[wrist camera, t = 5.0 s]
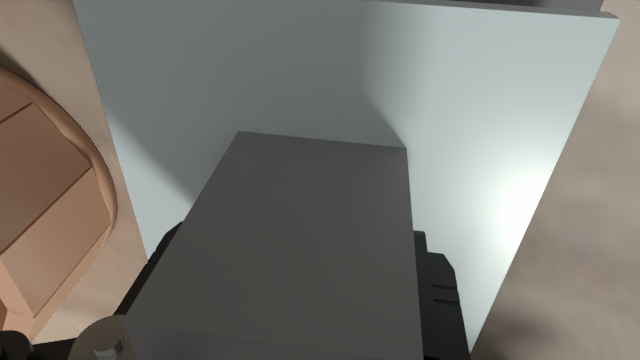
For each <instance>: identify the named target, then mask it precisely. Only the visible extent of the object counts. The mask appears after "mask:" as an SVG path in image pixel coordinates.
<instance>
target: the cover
mask: <svg viewBox="0 0 640 360" xmlns="http://www.w3.org/2000/svg"><path fill="white" fill-rule="evenodd" d="M72 2H73V5H74V9H75V12H76V15H77V19H78V22H79V26H80V29H81V33H82V36H83V39H84V43H85V46H86V50H87V53H88V56H89V60H90V63H91V67H92V70H93V73H94V77H95V80H96V84H97V87H98V90H99V94H100V97H101V101H102V104H103V108H104V111H105V114H106V118H107V121H108V125H109V128H110V131H111V135H112V138H113V142H114V145H115V148H116V152H117V155H118V159H119V162H120V165H121V169H122V172H123V176H124V179H125V182H126V186H127V189H128V193H129V196H130V200H131V203H132V206H133V210H134V213H135V217H136V220H137V223H138V227H139V230H140V234H141V237H142V240H143V244H144V247H145V251H146V254H147V257H148V260H149V258H150V257H151V255H152V253H153V252H154V251H156V247H157V246H158V244H159V243H160V241H161V239H162V238H163V236H164V235H165V233H167V232H168V231H169V230H170V229H172V228H173V227H174V226H176V225H177V224H178V223H179V222H181V221H183V222H182V224H181V225H180V227H179V229H178V230H177V232H176V234H175V235H174V237H173V239H172V240H171V242H170V243H169V245H168V247H167V248H166V250H165V252H164V253H163V255H162V257H161V258H160V260H159V261H158V263H157V265H156V266H155V268H154V270H153V271H152V273H151V275H150V276H149V278H148V279H147V281H146V283H145V284H144V286H143V288H142V289H141V291H140V292H139V294H138V296H137V297H136V299H135V301H134V302H133V304H132V306H131V307H130V309H129V310H128V312H127V314H126V315H125V317H124V319H123V320H122V322H123V324H124V327H125V329H126V332H127V334H128V337H129V339H130V342H131V345H132V347H133V350H134V352H135V355H136V357H137V360H424V358H423V346H422V333H421V321H420V308H419V296H418V283H417V271H416V258H415V246H414V233H413V230H417V231H424V232H425V235H426V243H427V251H428V252H434V253H442V254H444V255H445V257H446V258H447V260H448V261H449V263H450V264H451V266H452V267H453V268H454V270H455V276H456V281H457V287H458V288H457V291H458V292H459V298H460V306H461V309H462V315H463V320H464V326H465V331H466V337H467V342H468V348H469V353H471V351H472V348H473V346H474V344H475V342H476V340H477V337H478V335H479V333H480V331H481V329H482V326H483V324H484V322H485V320H486V317H487V315H488V313H489V311H490V309H491V306H492V304H493V302H494V300H495V298H496V295H497V293H498V291H499V289H500V286H501V284H502V282H503V280H504V278H505V275H506V273H507V271H508V269H509V267H510V264H511V262H512V260H513V258H514V256H515V253H516V251H517V249H518V247H519V244H520V242H521V240H522V238H523V236H524V233H525V231H526V229H527V227H528V225H529V222H530V220H531V218H532V216H533V214H534V211H535V209H536V207H537V205H538V202H539V200H540V198H541V196H542V194H543V191H544V189H545V187H546V185H547V183H548V180H549V178H550V176H551V174H552V171H553V169H554V167H555V165H556V163H557V160H558V158H559V156H560V154H561V152H562V149H563V147H564V145H565V143H566V141H567V138H568V136H569V134H570V132H571V129H572V127H573V125H574V123H575V121H576V118H577V116H578V114H579V112H580V110H581V107H582V105H583V103H584V101H585V99H586V96H587V94H588V92H589V90H590V87H591V85H592V83H593V81H594V79H595V76H596V74H597V72H598V70H599V68H600V65H601V63H602V61H603V59H604V56H605V54H606V52H607V50H608V48H609V45H610V43H611V41H612V39H613V37H614V34H615V32H616V30H617V28H618V26H619V23H620V21H621V19H620V18H618V17H617V16H615V15H613V14H611V13H609V12H602V11H588V10H574V9H560V8H546V7H532V6H518V5H504V4H490V3H476V2H462V1H448V0H72Z"/></svg>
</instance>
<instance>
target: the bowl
mask: <svg viewBox="0 0 640 360" xmlns="http://www.w3.org/2000/svg"><path fill="white" fill-rule="evenodd" d="M117 210H118V206H117V195H116V191H115V187H114V183H113V180H112V178H111V175H110V173H109V170H108V168H107V166H106V164H105V162H104V160H103V159H102V157H101V155H100V153H99V152H98V150H97V149H96V147H95V146H94V144H93V143H92V141H91V140H90V139H89V137H88V136H87V135H86V134H85V133H84V131H83V130H82V129H81V128H80V127H79V125H78V124H77V123H76V122H75V121H74V120H73V119H72V118H71V117H70V116H69V115H68V114H67V113H66V112H65V111H64V110H63V109H62V108H61V107H59V106H58V105H57V104H56V103H55V102H54V101H52V100H51V99H50V98H49V97H48V96H47V95H45V94H44V93H43V92H41V91H40V90H38V89H37V88H36V87H34V86H33V85H32V84H30V83H29V82H27V81H26V80H24V79H22V78H21V77H19V76H17V75H16V74H14V73H12V72H11V71H9V70H7V69H5V68H3V67H1V66H0V331H4V330H14V331H19V332H21V333H23V334H24V335H26V337H27V338H28V339H29V341H30V342H31V343H32V341H33V340H34V339H35V337H36V336H37V335H38V333H39V332H40V331H41V330H42V328H43V327H44V326H45V324H46V323H47V322H48V320H49V319H50V318H51V317H52V315H53V314H54V313H55V311H56V310H57V309H58V307H59V306H60V305H61V304H62V302H63V301H64V300H65V298H66V297H67V296H68V294H69V293H70V292H71V290H72V289H73V288H74V287H75V285H76V284H77V283H78V281H79V280H80V279H81V277H82V276H83V275H84V274H85V272H86V271H87V270H88V268H89V267H90V266H91V264H92V263H93V262H94V261H95V259H96V257H97V255H98V253H99V250H100V248H101V246H102V245H103V244H104V242H105V241H106V240H107V238H108V237H109V235H110V234H111V232H112V230H113V228H114V225H115V222H116V219H117Z"/></svg>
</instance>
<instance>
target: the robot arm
mask: <svg viewBox="0 0 640 360" xmlns="http://www.w3.org/2000/svg"><path fill="white" fill-rule="evenodd" d="M182 222H183V221H181V222H179V223H178V224H177V225H176V226H174V227H173V228H172V229H170V230H169V231H168V232H167V233H165V235H164V236H163V238H162V239H161V241H160V243H159V244H158V246H157V247H156V251H154V252H153V253H152V255H151V257H150V258H149V260H148V263H147V264H145V266H144V268H143V269H142V271H141V272H140V274H139V275H138V277H137V278H136V280H135V282H134V283H133V285H132V286H131V288H130V289H129V291H128V293H127V294H126V296H125V297H124V299H123V300H122V302H121V303H120V305H119V307H118V308H117V310H116V311H115V312H114V314H113V315H112V316H108V317H105V318H102V319H100V320H98V321H96V322H94V323H93V324H91V325H90V326H88V327H87V328H86V329H85V330H84V331H83V332H81V334H80V335H79V336H78V337H77V338H72V339H67V340H60V341H54V342H47V343H41V344H35V345H32V344H31V342H30V341H29V339H28V338H27V337H26V335H24V334H23V333H21V332H19V331H14V330H4V331H0V360H137V357H136V355H135V352H134V350H133V347H132V345H131V342H130V339H129V337H128V334H127V332H126V329H125V327H124V324H123V322H122V320H123V319H124V317H125V315H126V314H127V312H128V310H129V309H130V307H131V306H132V304H133V302H134V301H135V299H136V297H137V296H138V294H139V292H140V291H141V289H142V288H143V286H144V284H145V283H146V281H147V279H148V278H149V276H150V275H151V273H152V271H153V270H154V268H155V266H156V265H157V263H158V261H159V260H160V258H161V257H162V255H163V253H164V252H165V250H166V248H167V247H168V245H169V243H170V242H171V240H172V239H173V237H174V235H175V234H176V232H177V230H178V229H179V227H180V225H181V224H182ZM413 233H414V246H415V258H416V271H417V283H418V296H419V308H420V321H421V333H422V346H423V358H424V360H471V359H470V353H469V348H468V342H467V337H466V331H465V326H464V320H463V315H462V309H461V306H460V298H459V292H458V291H457V288H458V287H457V281H456V276H455V270H454V268H453V267H452V266H451V264H450V263H449V261H448V260H447V258H446V257H445V255H444V254H442V253H434V252H428V251H427V243H426V235H425V232H424V231H417V230H413Z"/></svg>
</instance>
